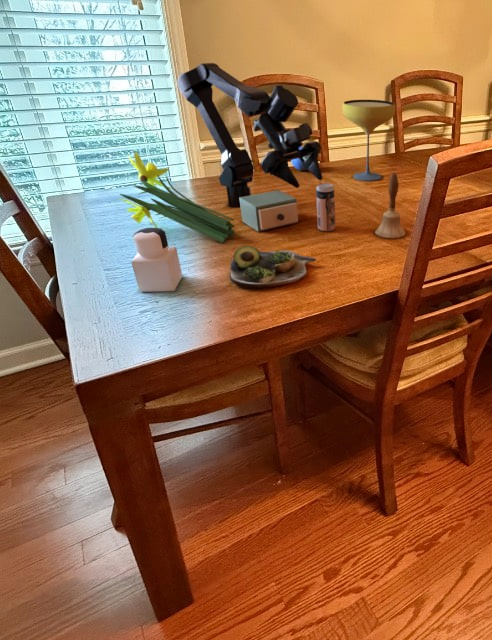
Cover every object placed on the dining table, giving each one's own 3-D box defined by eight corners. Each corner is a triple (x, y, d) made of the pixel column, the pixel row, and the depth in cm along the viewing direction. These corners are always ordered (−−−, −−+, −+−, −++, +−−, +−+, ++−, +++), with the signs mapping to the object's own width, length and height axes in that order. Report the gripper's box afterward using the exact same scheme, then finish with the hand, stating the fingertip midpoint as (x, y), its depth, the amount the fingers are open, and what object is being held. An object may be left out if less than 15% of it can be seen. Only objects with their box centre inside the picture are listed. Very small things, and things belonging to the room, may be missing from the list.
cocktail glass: (392, 184, 166) (396, 107, 152) (341, 183, 166) (341, 106, 152) (391, 171, 181) (394, 100, 167) (344, 170, 181) (344, 98, 167)
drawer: (300, 222, 130) (299, 204, 127) (264, 231, 124) (262, 212, 121) (282, 212, 136) (281, 195, 133) (247, 220, 130) (245, 202, 128)
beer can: (332, 233, 126) (331, 188, 119) (315, 231, 127) (313, 187, 120) (337, 226, 130) (336, 183, 123) (320, 225, 131) (319, 182, 124)
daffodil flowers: (203, 258, 113) (86, 202, 118) (230, 264, 127) (126, 214, 132) (230, 193, 111) (111, 139, 116) (255, 207, 126) (148, 159, 130)
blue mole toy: (328, 169, 181) (327, 146, 176) (304, 175, 174) (303, 151, 169) (308, 163, 188) (307, 141, 183) (284, 168, 181) (282, 146, 176)
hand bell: (408, 229, 129) (413, 171, 120) (400, 240, 122) (404, 179, 114) (380, 225, 131) (382, 167, 122) (371, 236, 124) (372, 175, 116)
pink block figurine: (149, 276, 102) (135, 224, 96) (183, 276, 103) (171, 224, 96) (139, 292, 96) (123, 237, 90) (174, 291, 97) (161, 237, 90)
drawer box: (298, 222, 132) (296, 198, 128) (258, 232, 126) (255, 207, 122) (280, 213, 138) (278, 189, 135) (242, 221, 132) (239, 197, 128)
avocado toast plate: (312, 252, 115) (311, 234, 113) (322, 285, 101) (321, 265, 98) (231, 258, 111) (228, 240, 109) (230, 293, 97) (227, 273, 94)
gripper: (263, 117, 111) (301, 172, 112) (314, 108, 124) (348, 157, 125) (245, 147, 119) (280, 198, 120) (295, 136, 132) (326, 182, 133)
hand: (310, 183), depth 124 cm, fingers open, 9 cm apart
